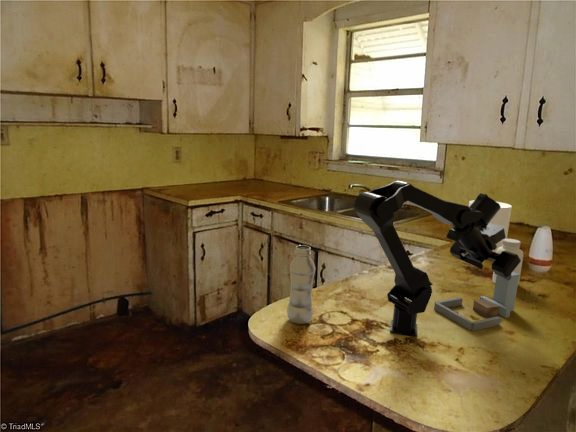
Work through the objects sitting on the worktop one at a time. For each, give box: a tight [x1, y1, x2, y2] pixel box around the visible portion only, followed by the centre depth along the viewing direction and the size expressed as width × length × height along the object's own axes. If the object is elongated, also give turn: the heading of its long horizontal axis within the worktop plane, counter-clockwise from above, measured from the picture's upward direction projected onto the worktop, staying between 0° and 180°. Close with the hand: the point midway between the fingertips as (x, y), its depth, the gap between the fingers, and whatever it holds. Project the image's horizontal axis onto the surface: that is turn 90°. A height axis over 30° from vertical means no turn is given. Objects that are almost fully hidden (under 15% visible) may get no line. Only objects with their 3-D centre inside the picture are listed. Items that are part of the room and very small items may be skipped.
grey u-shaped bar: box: [433, 297, 501, 332], centre depth 116 cm, size 10×14×2 cm
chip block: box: [472, 299, 499, 318], centre depth 119 cm, size 4×5×3 cm
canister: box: [468, 199, 513, 253], centre depth 176 cm, size 16×16×20 cm
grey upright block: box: [479, 272, 521, 319], centre depth 120 cm, size 6×9×11 cm
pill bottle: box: [492, 238, 524, 286], centre depth 140 cm, size 8×8×15 cm
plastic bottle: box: [286, 244, 316, 325], centre depth 108 cm, size 6×7×20 cm
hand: (495, 273), depth 117 cm, fingers open, 9 cm apart
